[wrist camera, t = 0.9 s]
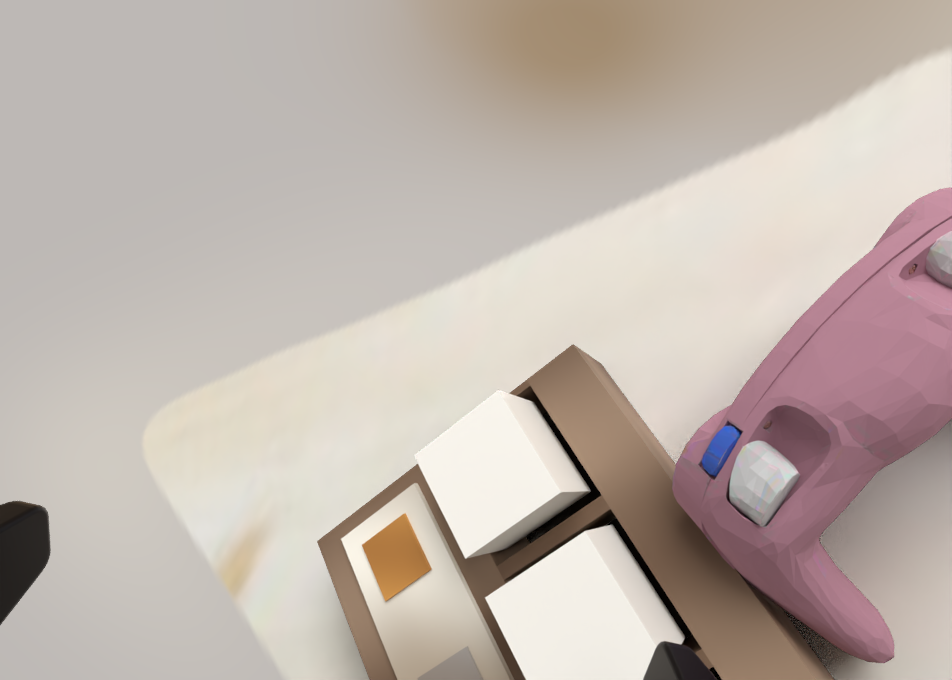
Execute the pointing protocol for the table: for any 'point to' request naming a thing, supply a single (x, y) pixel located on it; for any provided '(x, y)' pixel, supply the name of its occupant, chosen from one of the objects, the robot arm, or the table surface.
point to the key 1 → (499, 474)
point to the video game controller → (830, 426)
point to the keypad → (472, 579)
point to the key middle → (584, 613)
